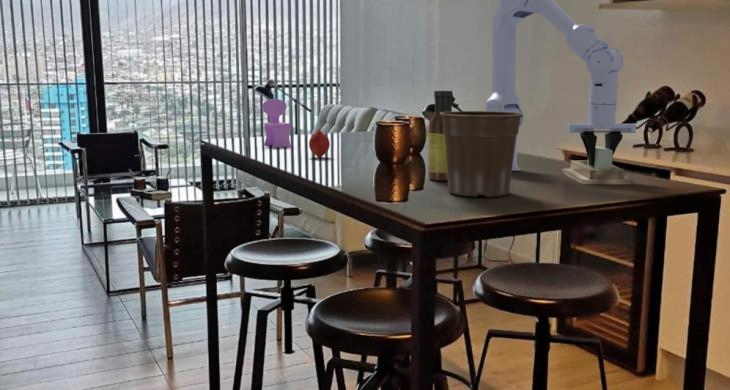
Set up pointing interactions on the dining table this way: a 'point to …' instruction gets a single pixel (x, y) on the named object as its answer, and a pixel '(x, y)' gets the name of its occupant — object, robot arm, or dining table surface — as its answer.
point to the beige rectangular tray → (596, 174)
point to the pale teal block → (602, 158)
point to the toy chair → (276, 124)
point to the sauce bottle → (438, 137)
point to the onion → (319, 143)
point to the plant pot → (480, 151)
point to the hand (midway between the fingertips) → (599, 165)
